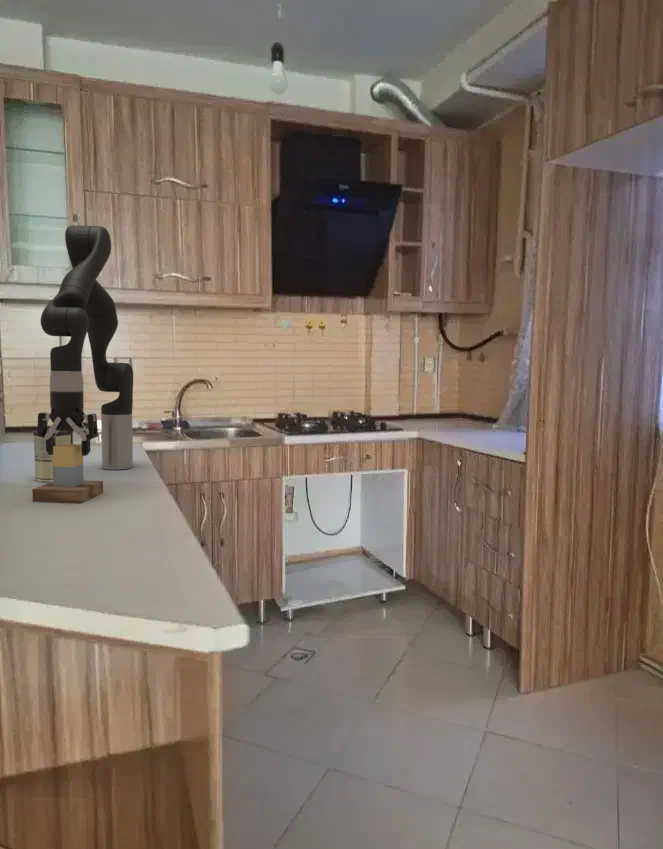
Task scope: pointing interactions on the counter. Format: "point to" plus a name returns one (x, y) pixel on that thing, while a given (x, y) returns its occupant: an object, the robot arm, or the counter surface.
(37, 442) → the coffee can
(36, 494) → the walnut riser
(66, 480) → the slate block
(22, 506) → the counter surface
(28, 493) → the counter surface
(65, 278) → the robot arm
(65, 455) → the ochre block
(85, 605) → the counter surface
